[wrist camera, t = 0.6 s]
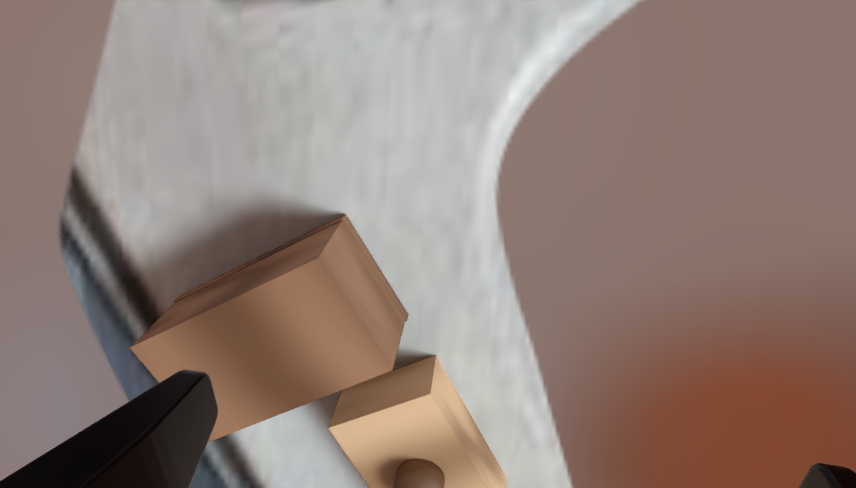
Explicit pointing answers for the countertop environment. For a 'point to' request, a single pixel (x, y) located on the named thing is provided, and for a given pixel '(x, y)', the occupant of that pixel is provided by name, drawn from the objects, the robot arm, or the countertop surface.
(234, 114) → the countertop surface
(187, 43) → the countertop surface
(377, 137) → the countertop surface
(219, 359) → the walnut box
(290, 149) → the countertop surface
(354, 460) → the oak lid
